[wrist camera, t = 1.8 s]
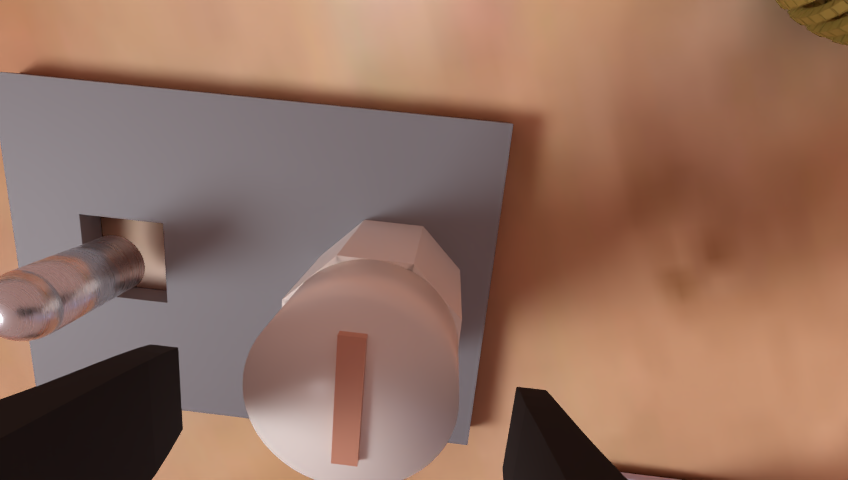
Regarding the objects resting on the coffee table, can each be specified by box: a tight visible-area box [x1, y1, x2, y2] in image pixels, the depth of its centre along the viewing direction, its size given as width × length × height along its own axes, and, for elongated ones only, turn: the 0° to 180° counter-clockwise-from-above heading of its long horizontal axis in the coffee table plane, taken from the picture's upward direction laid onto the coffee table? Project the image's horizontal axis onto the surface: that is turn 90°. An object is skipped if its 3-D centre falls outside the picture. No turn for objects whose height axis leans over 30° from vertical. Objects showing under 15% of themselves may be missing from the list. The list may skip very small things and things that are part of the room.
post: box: [0, 235, 145, 341], centre depth 14 cm, size 2×2×5 cm
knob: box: [242, 220, 462, 480], centre depth 14 cm, size 5×5×7 cm
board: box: [0, 72, 513, 445], centre depth 17 cm, size 17×12×1 cm
